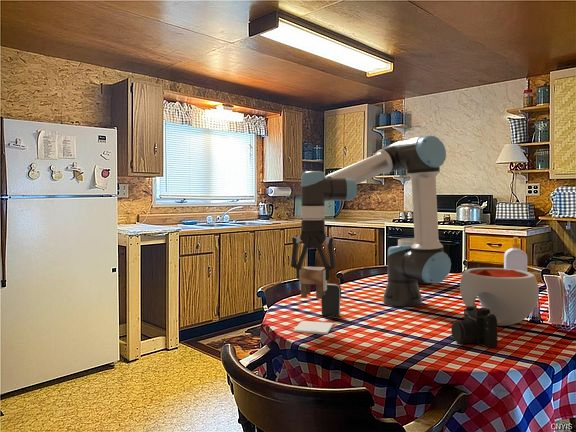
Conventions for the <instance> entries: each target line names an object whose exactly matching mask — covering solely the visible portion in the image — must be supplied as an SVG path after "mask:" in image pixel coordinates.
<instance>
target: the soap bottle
mask: <svg viewBox="0 0 576 432" xmlns="http://www.w3.org/2000/svg"><path fill="white" fill-rule="evenodd" d="M512 239H513V243H511V248H509V249H507V250H506V251H504V254H503V268H504V269H514V270H521V271H526V272H528V254H527V253H526V252H525V251H524V250H522V249H521V244H520V243H518V240H519V239H520V238H519V237H518V236H513V238H512Z"/></svg>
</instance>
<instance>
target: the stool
mask: <svg viewBox="0 0 576 432" xmlns="http://www.w3.org/2000/svg"><path fill="white" fill-rule="evenodd" d="M324 270H325V267H324V266H303V267H302V268H301V269H300V279H299V285H300V284H301V290H300V298H302V299H303V298H304V299H305V298H307V297H308V295H309V296H310V295H311V285H315V297H316V299H319V300H321V298H322V295H325V291H323V271H324Z"/></svg>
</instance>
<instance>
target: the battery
mask: <svg viewBox="0 0 576 432" xmlns="http://www.w3.org/2000/svg"><path fill="white" fill-rule="evenodd" d="M341 299H342V288H341V285H340V284H338V283H330V282H329V283H328V282H327V290H326V291H325V295H322V298H321V299H320V300H321V315H323V316H329V317H340V316H341Z"/></svg>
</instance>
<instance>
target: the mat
mask: <svg viewBox="0 0 576 432" xmlns="http://www.w3.org/2000/svg"><path fill="white" fill-rule="evenodd" d="M334 324H335V323H334V322H323V321H308V320H301V321H300V322H299V323H298V324H297V326H295V328H294V329H293V330H292V332H293V333H305V334H319V335H328V334H329V332H330V331H331V329H332V328H333V326H334Z"/></svg>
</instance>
